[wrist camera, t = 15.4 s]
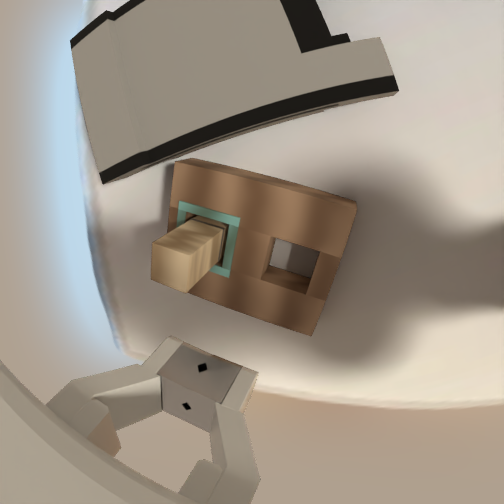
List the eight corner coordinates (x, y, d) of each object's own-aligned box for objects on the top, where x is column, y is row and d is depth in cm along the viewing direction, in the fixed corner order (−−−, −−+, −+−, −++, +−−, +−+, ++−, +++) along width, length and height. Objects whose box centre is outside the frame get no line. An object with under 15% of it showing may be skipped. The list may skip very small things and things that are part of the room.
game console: (388, 99, 27) (401, 88, 19) (143, 172, 39) (102, 184, 31) (324, -47, 21) (315, -83, 13) (110, 47, 33) (70, 40, 26)
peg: (237, 218, 37) (190, 255, 26) (231, 248, 38) (186, 294, 28) (207, 209, 38) (151, 242, 27) (202, 239, 39) (150, 279, 29)
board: (356, 201, 32) (357, 210, 28) (315, 318, 39) (311, 337, 35) (191, 158, 36) (174, 161, 32) (178, 270, 42) (163, 283, 39)
